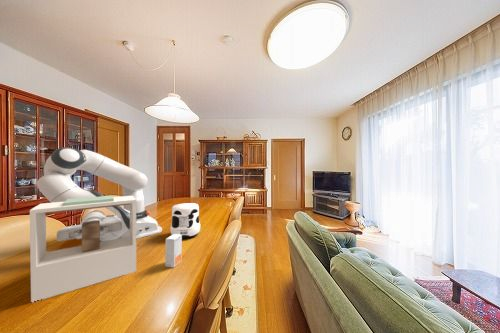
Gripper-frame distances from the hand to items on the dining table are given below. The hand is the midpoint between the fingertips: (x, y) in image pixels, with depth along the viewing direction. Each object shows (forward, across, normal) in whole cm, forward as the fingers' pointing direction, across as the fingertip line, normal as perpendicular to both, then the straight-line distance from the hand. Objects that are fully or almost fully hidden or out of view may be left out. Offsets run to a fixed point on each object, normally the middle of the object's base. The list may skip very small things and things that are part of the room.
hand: (91, 235), depth 71 cm
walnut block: (-1, 0, +6) cm, 6 cm away
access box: (-1, 0, +16) cm, 17 cm away
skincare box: (+8, +28, +17) cm, 34 cm away
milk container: (-22, +43, +17) cm, 51 cm away
